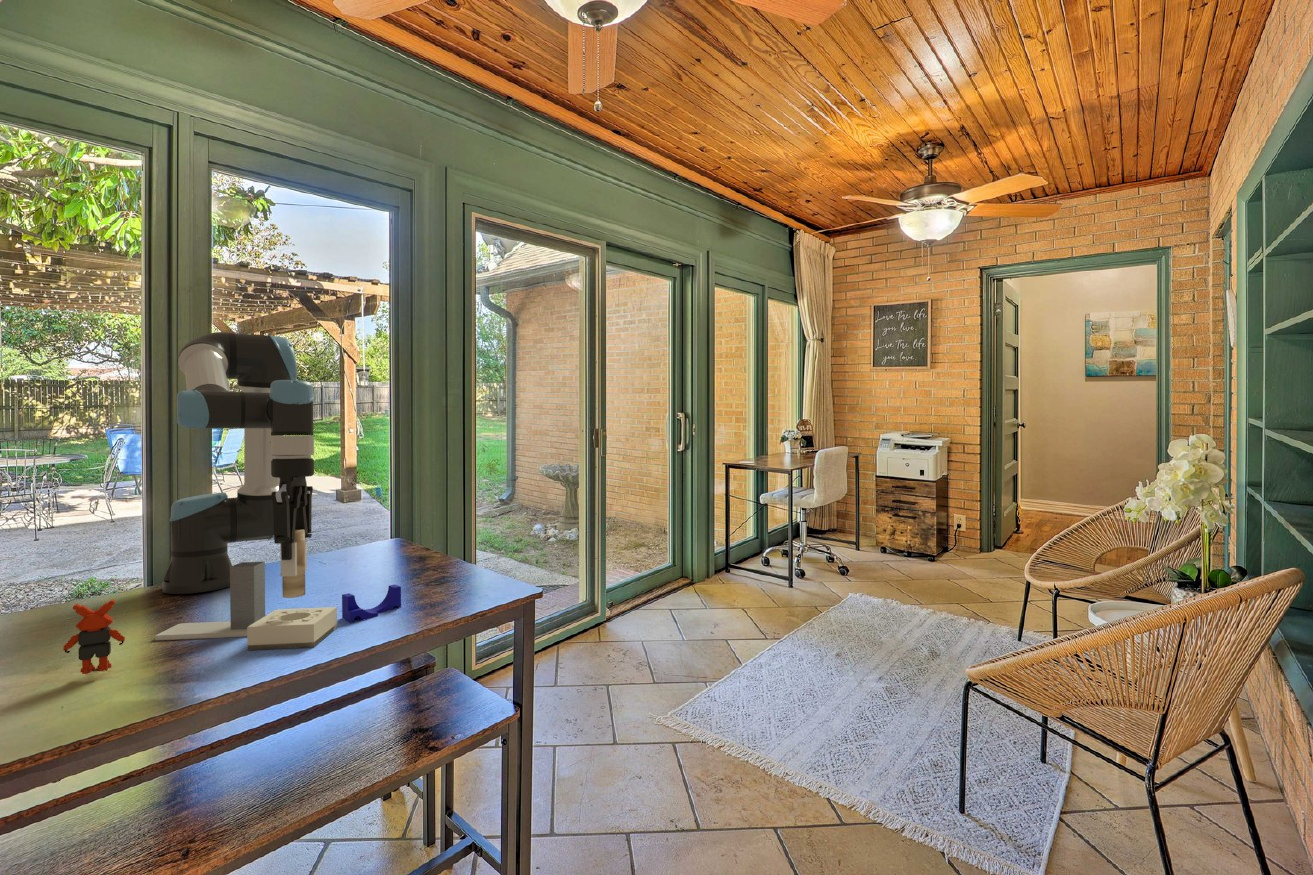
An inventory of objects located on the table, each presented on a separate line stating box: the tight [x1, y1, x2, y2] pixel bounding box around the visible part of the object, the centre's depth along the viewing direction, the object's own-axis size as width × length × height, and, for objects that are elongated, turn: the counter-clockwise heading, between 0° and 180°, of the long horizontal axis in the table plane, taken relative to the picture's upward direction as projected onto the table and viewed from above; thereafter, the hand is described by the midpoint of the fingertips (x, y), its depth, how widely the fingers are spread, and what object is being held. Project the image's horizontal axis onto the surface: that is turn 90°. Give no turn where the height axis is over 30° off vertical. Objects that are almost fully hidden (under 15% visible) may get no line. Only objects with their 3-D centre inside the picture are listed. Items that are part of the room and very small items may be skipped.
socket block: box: [246, 606, 338, 651], centre depth 127 cm, size 12×12×4 cm
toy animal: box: [62, 599, 126, 675], centre depth 111 cm, size 8×5×12 cm
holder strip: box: [154, 620, 247, 641], centre depth 132 cm, size 8×20×1 cm, turn 98°
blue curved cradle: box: [341, 584, 402, 624], centre depth 142 cm, size 12×4×6 cm, turn 138°
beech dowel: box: [281, 529, 306, 599], centre depth 127 cm, size 4×4×13 cm
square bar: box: [229, 561, 266, 630], centre depth 132 cm, size 5×5×13 cm
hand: (294, 572), depth 127 cm, fingers closed on beech dowel, 4 cm apart
